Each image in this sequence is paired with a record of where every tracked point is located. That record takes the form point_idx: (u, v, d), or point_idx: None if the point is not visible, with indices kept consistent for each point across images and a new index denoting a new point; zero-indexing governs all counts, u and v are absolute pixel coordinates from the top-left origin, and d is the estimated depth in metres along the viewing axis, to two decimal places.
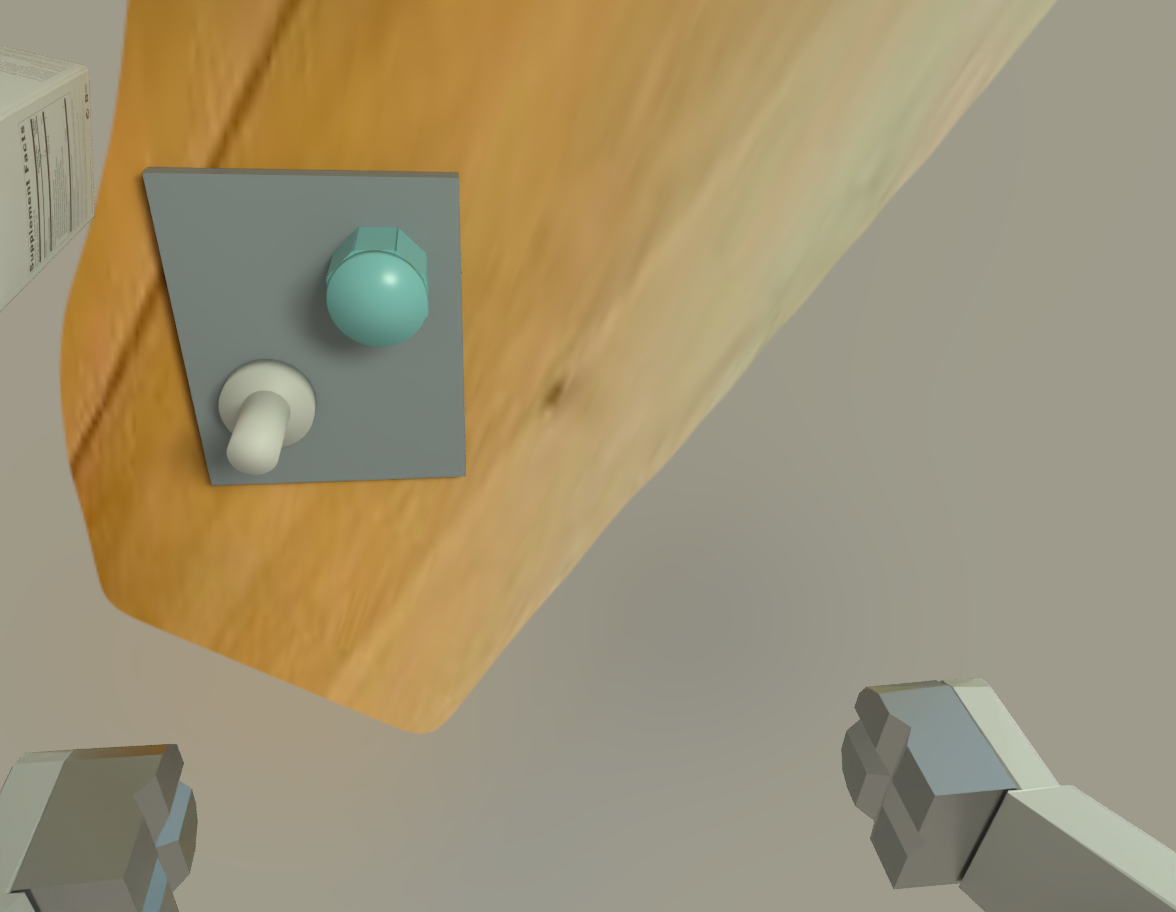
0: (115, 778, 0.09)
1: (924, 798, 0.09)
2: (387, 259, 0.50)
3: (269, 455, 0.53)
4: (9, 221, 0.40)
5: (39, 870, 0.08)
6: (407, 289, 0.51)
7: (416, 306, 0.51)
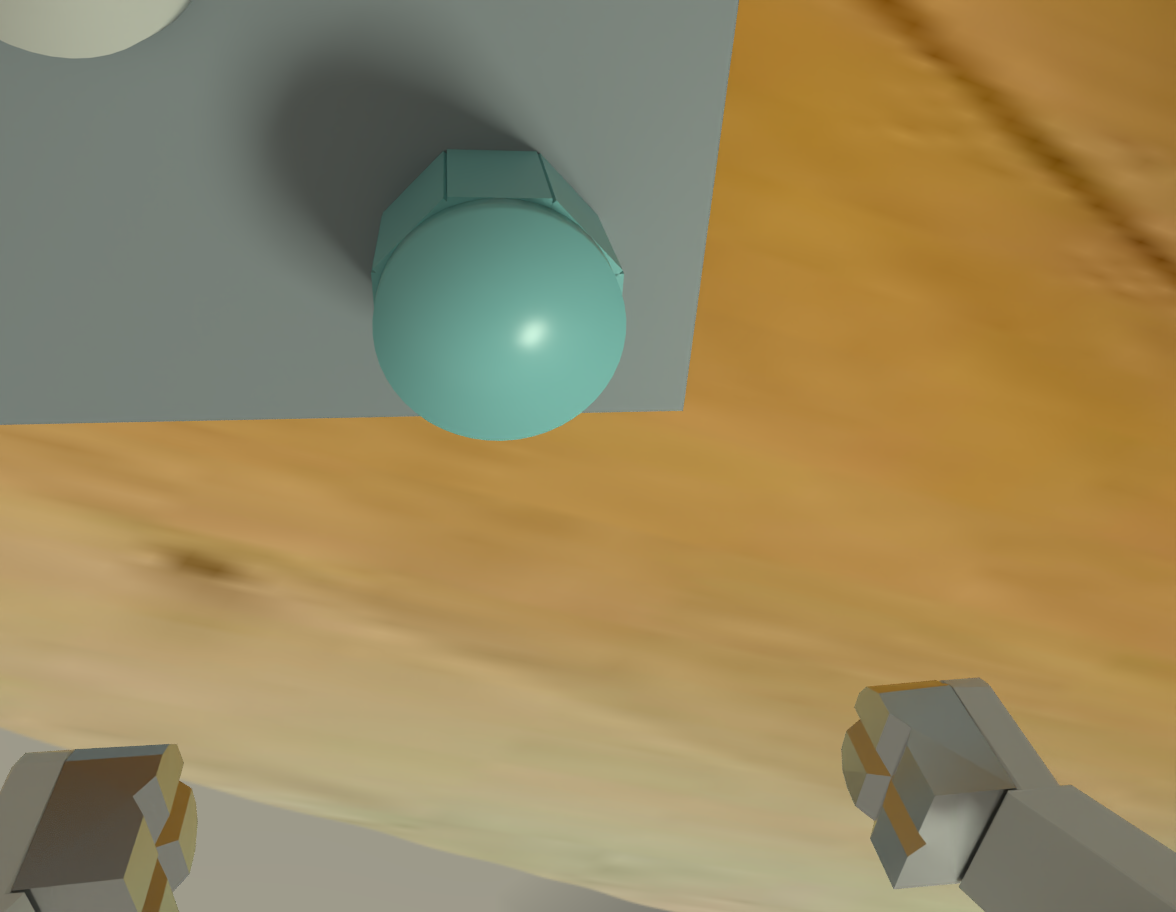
0: (115, 778, 0.09)
1: (924, 798, 0.09)
2: (612, 362, 0.21)
3: None
4: None
5: (39, 870, 0.08)
6: (534, 400, 0.21)
7: (490, 418, 0.21)
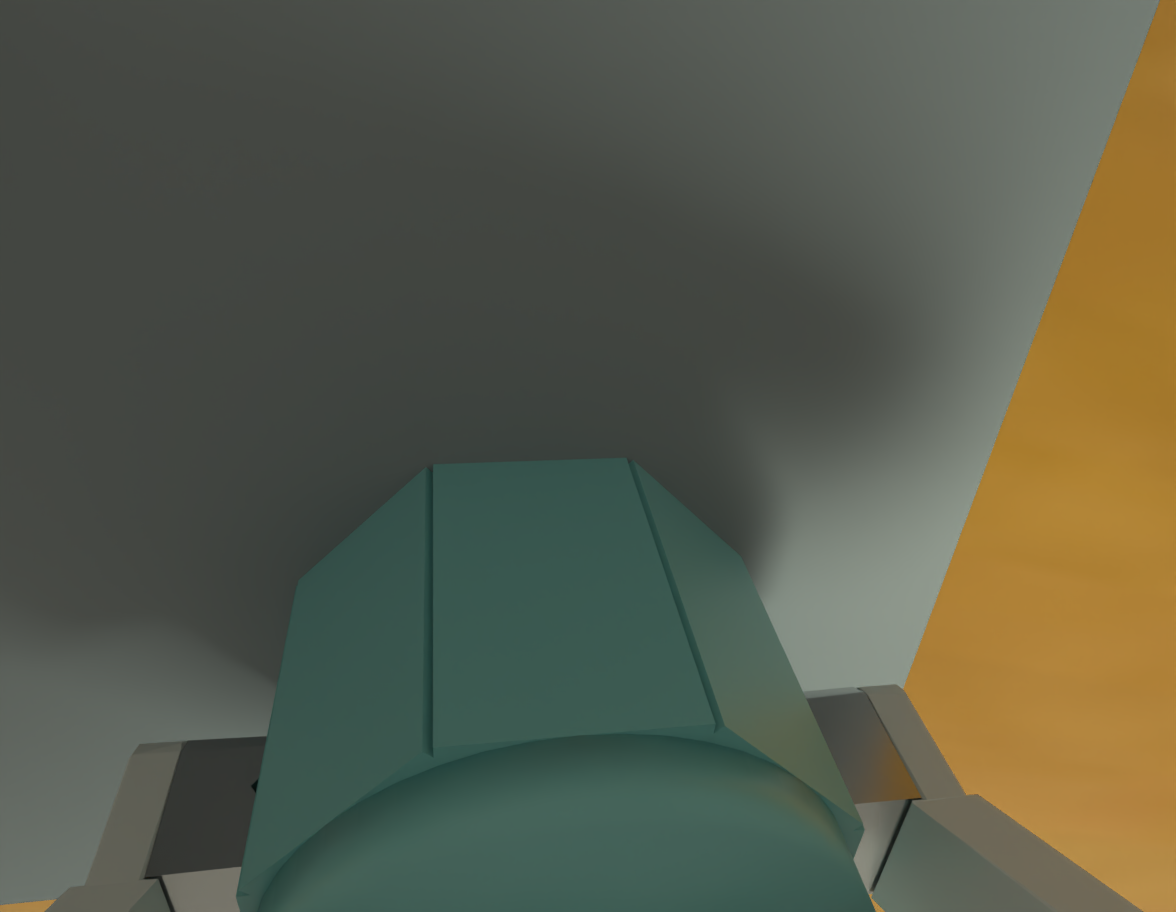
0: (231, 768, 0.09)
1: None
2: None
3: None
4: None
5: (169, 857, 0.08)
6: None
7: None
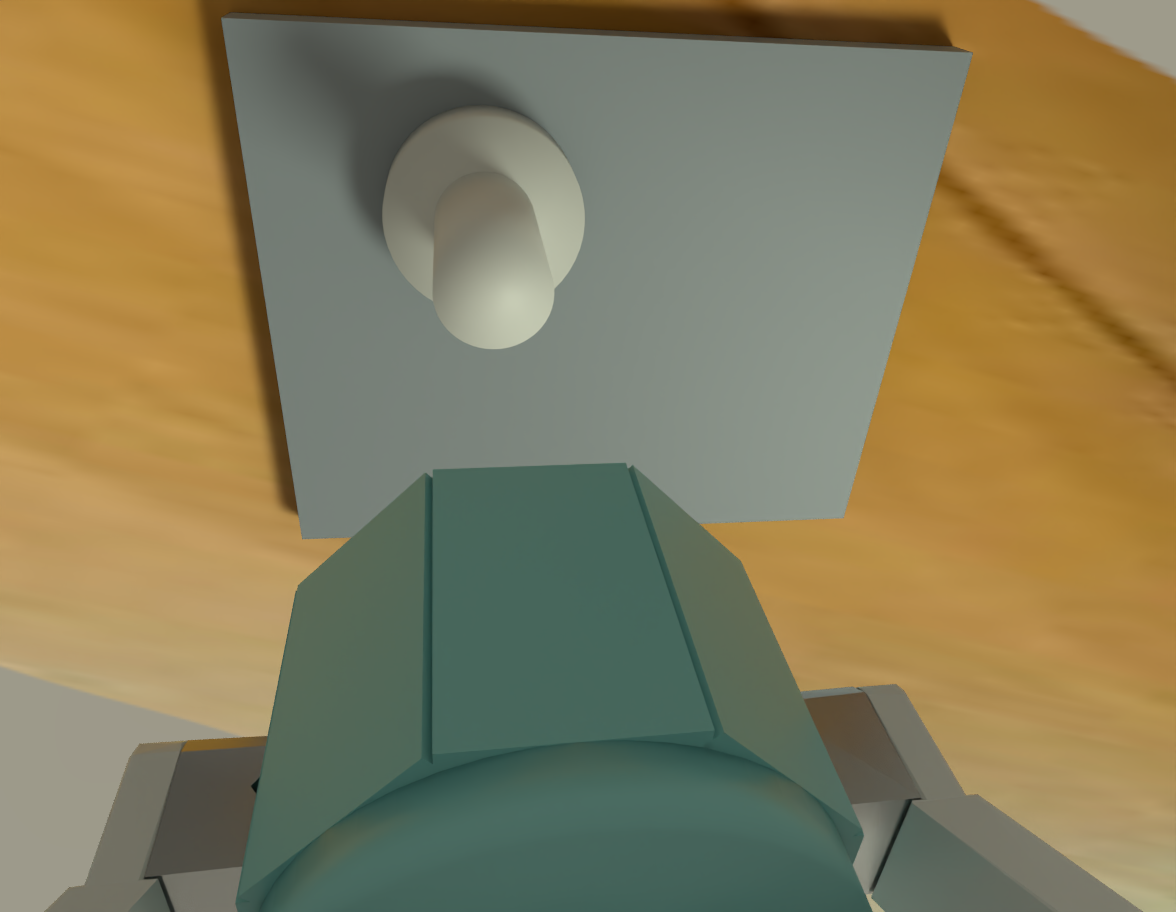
0: (231, 768, 0.09)
1: None
2: None
3: (490, 330, 0.22)
4: None
5: (169, 857, 0.08)
6: None
7: None
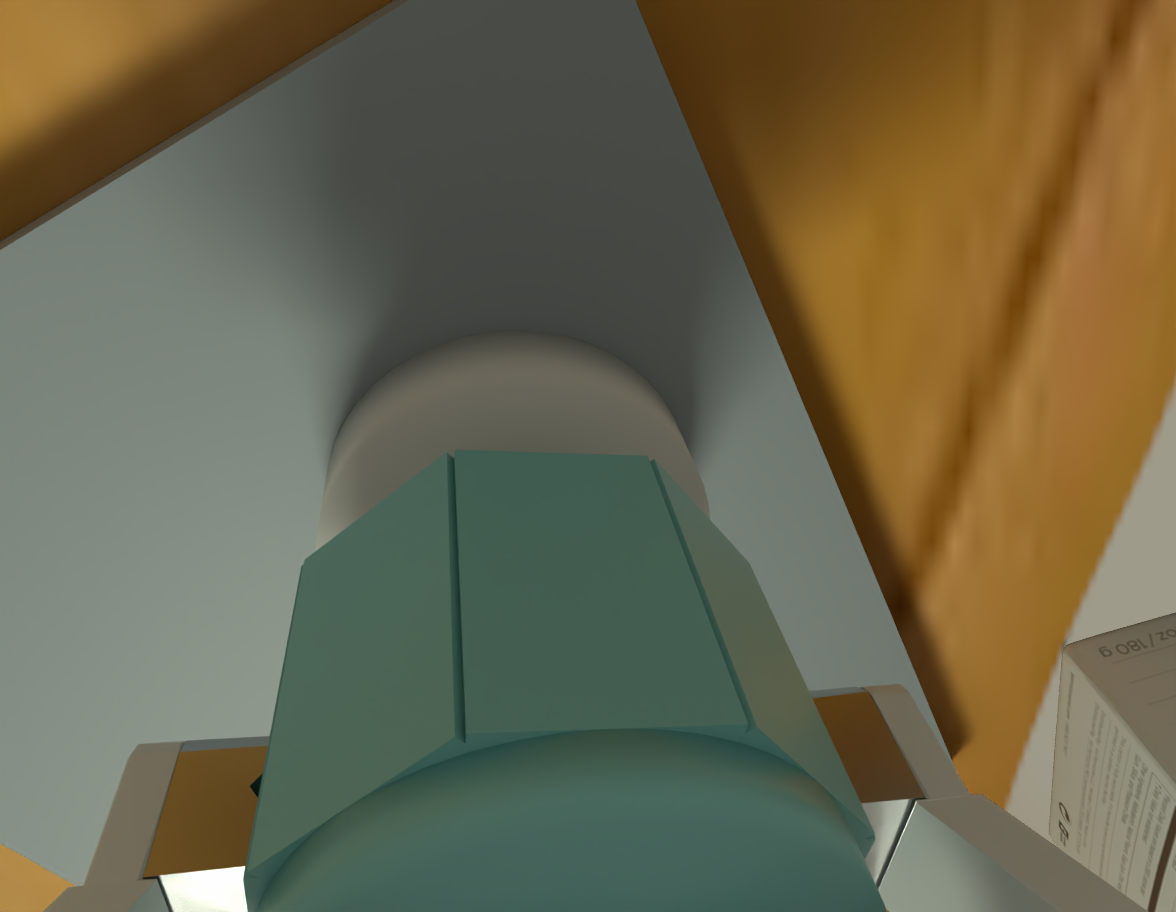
0: (230, 768, 0.09)
1: None
2: None
3: None
4: None
5: (168, 857, 0.08)
6: None
7: None
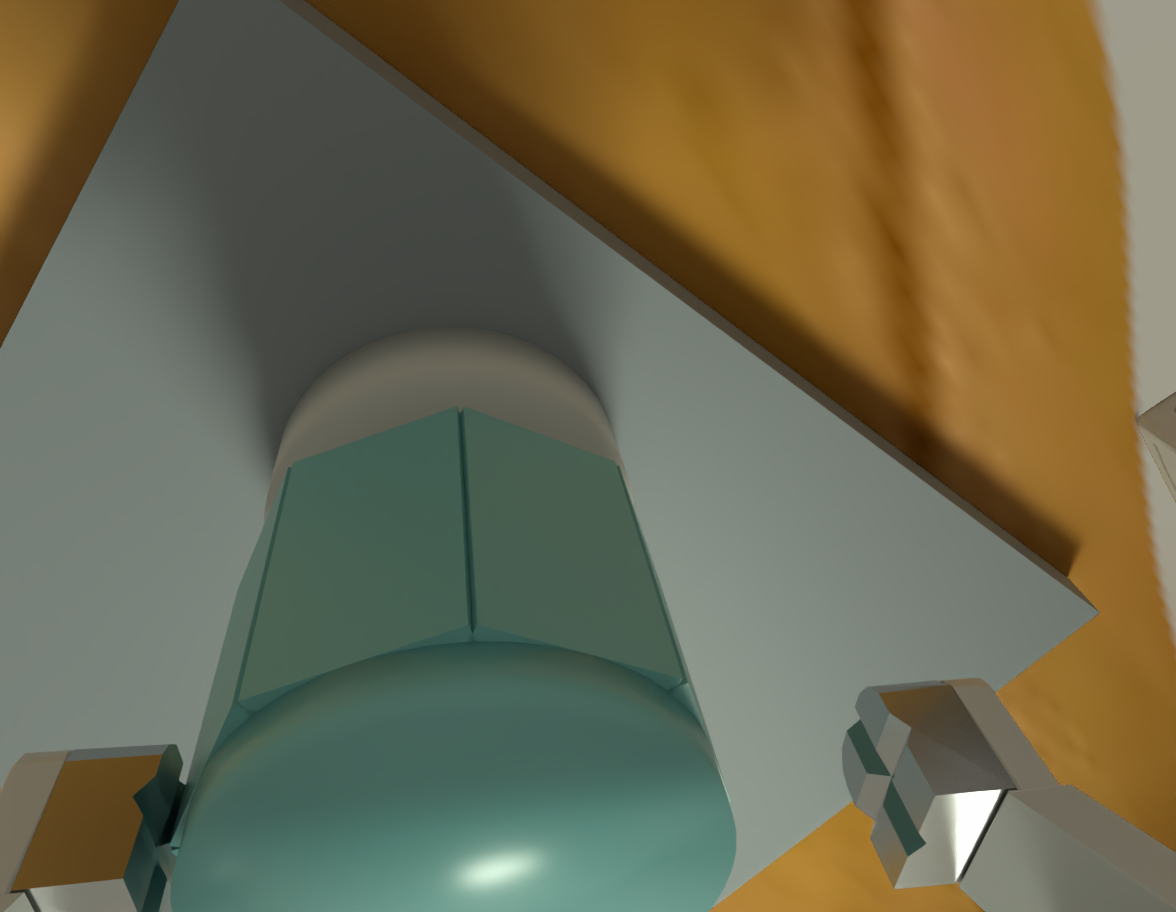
0: (115, 778, 0.09)
1: (924, 798, 0.09)
2: (722, 855, 0.09)
3: None
4: None
5: (39, 870, 0.08)
6: None
7: None
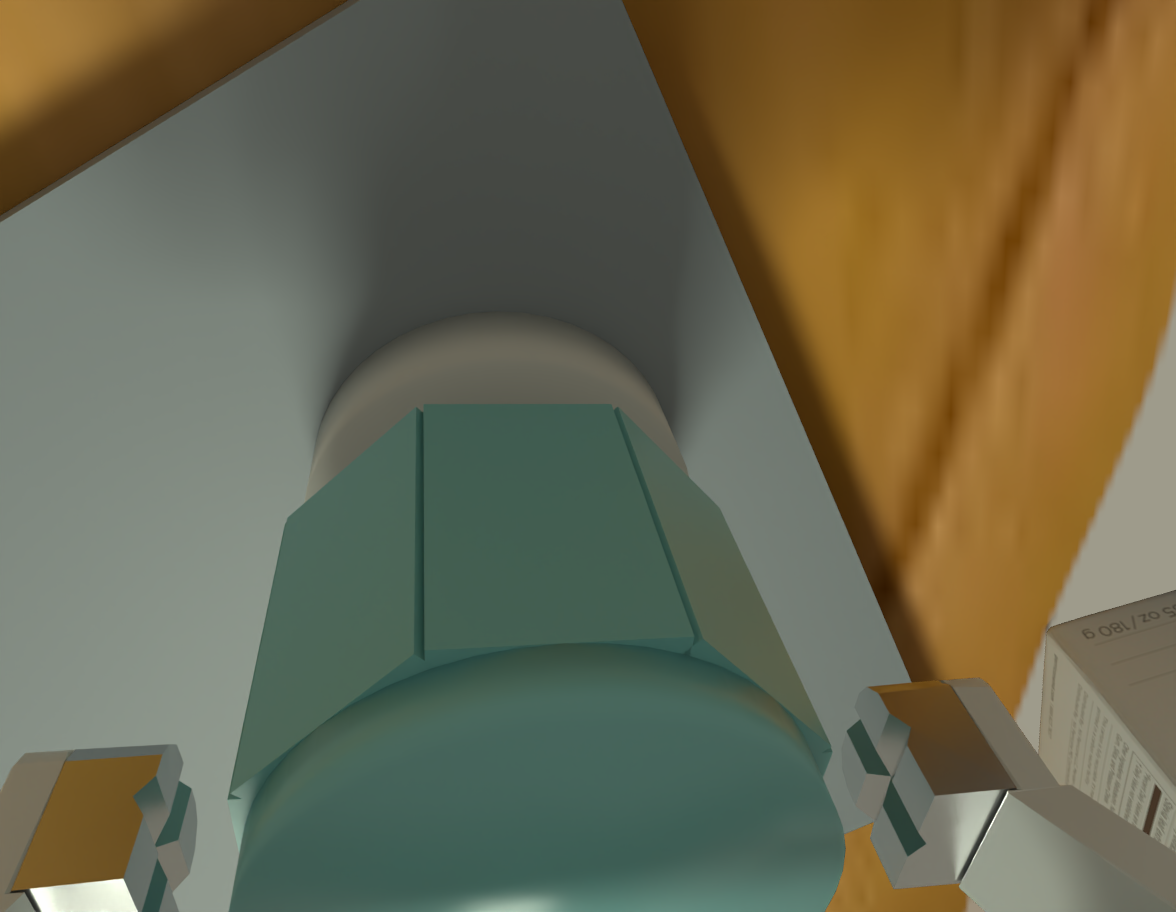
0: (115, 778, 0.09)
1: (924, 798, 0.09)
2: (821, 816, 0.08)
3: None
4: None
5: (39, 870, 0.08)
6: None
7: None
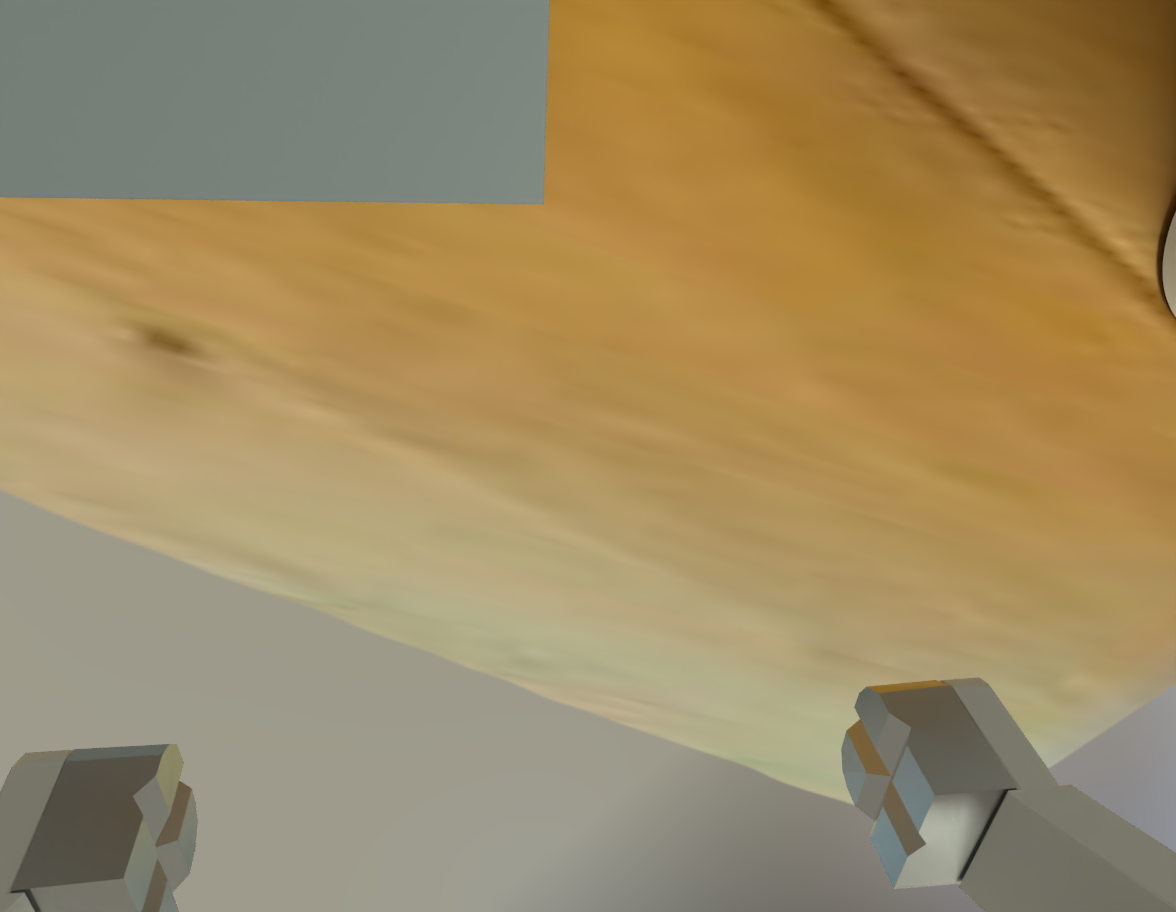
0: (115, 778, 0.09)
1: (924, 798, 0.09)
2: None
3: None
4: None
5: (39, 870, 0.08)
6: None
7: None
